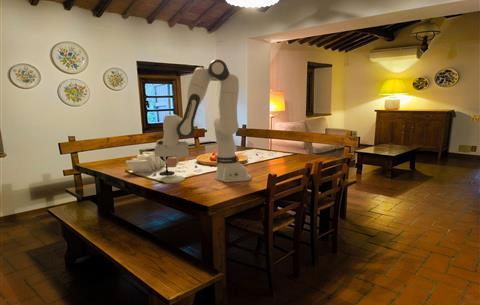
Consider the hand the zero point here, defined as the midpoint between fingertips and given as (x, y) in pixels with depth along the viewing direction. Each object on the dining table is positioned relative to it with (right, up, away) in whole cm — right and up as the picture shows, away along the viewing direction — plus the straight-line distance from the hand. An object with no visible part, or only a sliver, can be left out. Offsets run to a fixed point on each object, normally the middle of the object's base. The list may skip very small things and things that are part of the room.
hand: (171, 163), depth 190 cm
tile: (0, -10, +2) cm, 10 cm away
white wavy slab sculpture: (-24, -5, +32) cm, 41 cm away
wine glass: (-7, -8, +17) cm, 20 cm away
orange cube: (0, -2, 0) cm, 2 cm away
